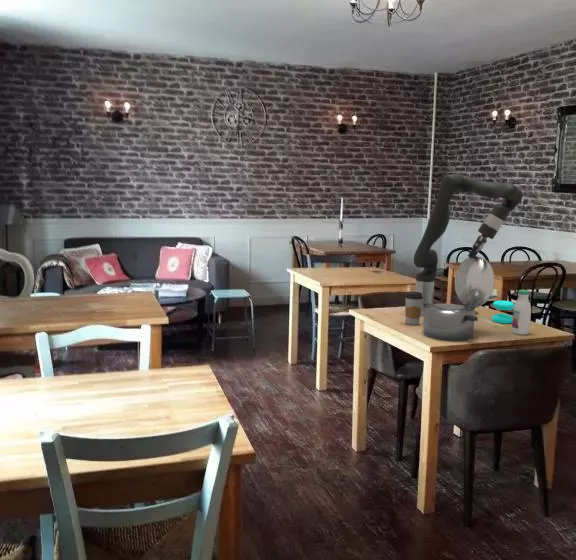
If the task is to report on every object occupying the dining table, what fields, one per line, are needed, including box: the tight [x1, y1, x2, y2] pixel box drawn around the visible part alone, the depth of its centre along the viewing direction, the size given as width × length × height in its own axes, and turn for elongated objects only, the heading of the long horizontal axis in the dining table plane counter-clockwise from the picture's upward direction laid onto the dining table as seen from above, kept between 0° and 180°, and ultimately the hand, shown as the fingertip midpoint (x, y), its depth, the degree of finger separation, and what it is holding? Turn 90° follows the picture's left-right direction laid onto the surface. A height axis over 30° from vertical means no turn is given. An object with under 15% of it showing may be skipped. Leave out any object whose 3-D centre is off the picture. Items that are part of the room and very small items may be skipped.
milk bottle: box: [511, 289, 532, 336], centre depth 297 cm, size 8×8×20 cm
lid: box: [454, 255, 496, 310], centre depth 295 cm, size 23×24×3 cm
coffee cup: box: [404, 291, 423, 326], centre depth 310 cm, size 8×8×15 cm
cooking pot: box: [422, 303, 479, 342], centre depth 291 cm, size 31×22×12 cm
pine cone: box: [450, 295, 480, 309], centre depth 341 cm, size 18×10×10 cm, turn 34°
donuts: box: [491, 300, 515, 325], centre depth 320 cm, size 10×10×10 cm
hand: (470, 257), depth 290 cm, fingers open, 8 cm apart
